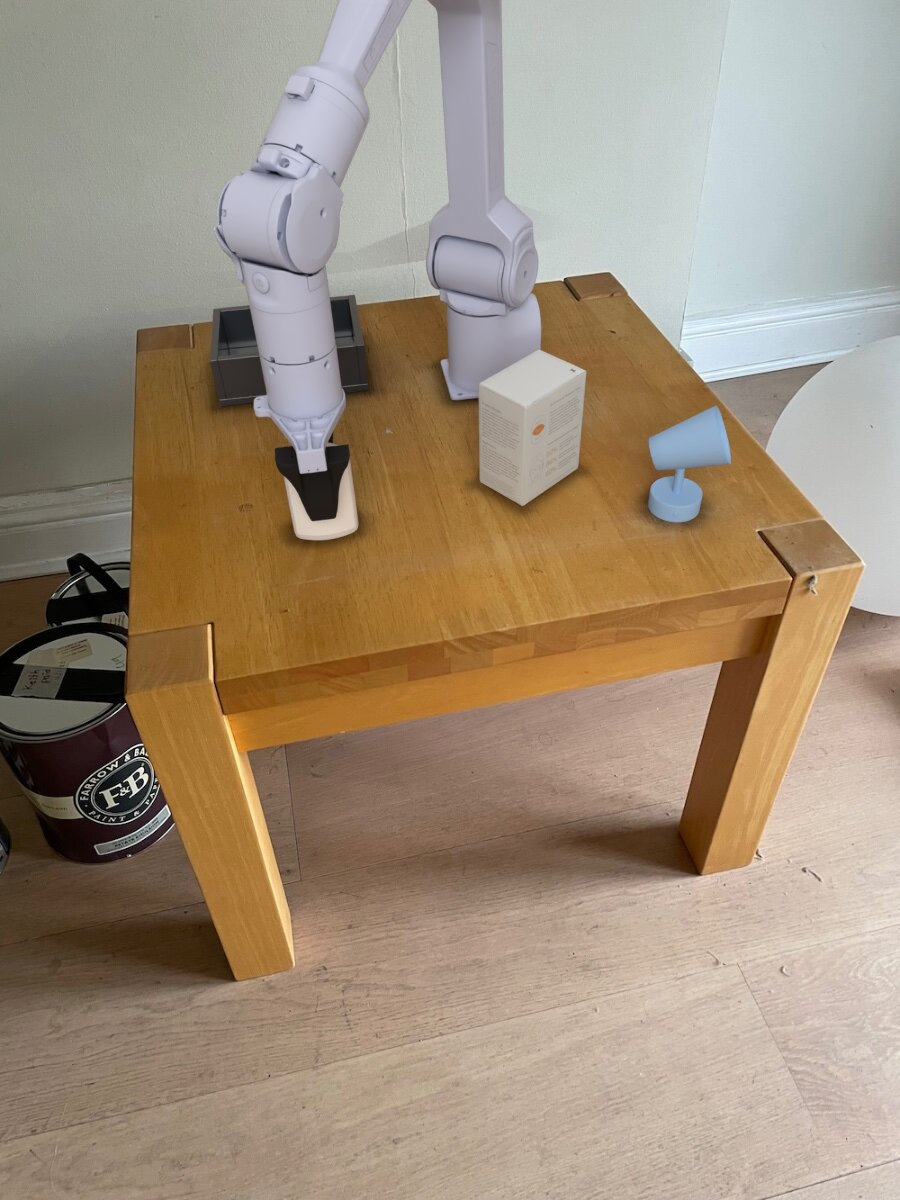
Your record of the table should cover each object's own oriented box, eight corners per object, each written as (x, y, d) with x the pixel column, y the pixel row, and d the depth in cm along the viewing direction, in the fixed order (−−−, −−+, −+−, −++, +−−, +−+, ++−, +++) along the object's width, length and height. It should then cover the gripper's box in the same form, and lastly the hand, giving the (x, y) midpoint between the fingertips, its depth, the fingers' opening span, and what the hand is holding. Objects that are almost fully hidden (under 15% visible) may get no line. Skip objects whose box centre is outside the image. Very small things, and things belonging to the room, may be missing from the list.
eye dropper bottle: (345, 550, 76) (328, 431, 67) (286, 537, 77) (262, 419, 69) (366, 519, 79) (351, 401, 70) (309, 507, 80) (288, 390, 72)
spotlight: (718, 493, 80) (640, 486, 81) (740, 396, 73) (655, 389, 74) (719, 528, 76) (638, 520, 77) (743, 429, 69) (653, 422, 70)
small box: (534, 446, 86) (539, 346, 79) (579, 469, 83) (589, 368, 76) (477, 482, 82) (476, 381, 75) (522, 508, 79) (525, 406, 72)
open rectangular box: (359, 338, 102) (354, 294, 99) (369, 390, 94) (364, 344, 90) (223, 352, 101) (213, 308, 97) (220, 406, 93) (209, 360, 89)
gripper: (243, 307, 70) (272, 449, 80) (241, 403, 60) (275, 554, 70) (332, 298, 71) (350, 440, 81) (345, 392, 61) (364, 543, 70)
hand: (321, 493), depth 75 cm, fingers open, 6 cm apart
